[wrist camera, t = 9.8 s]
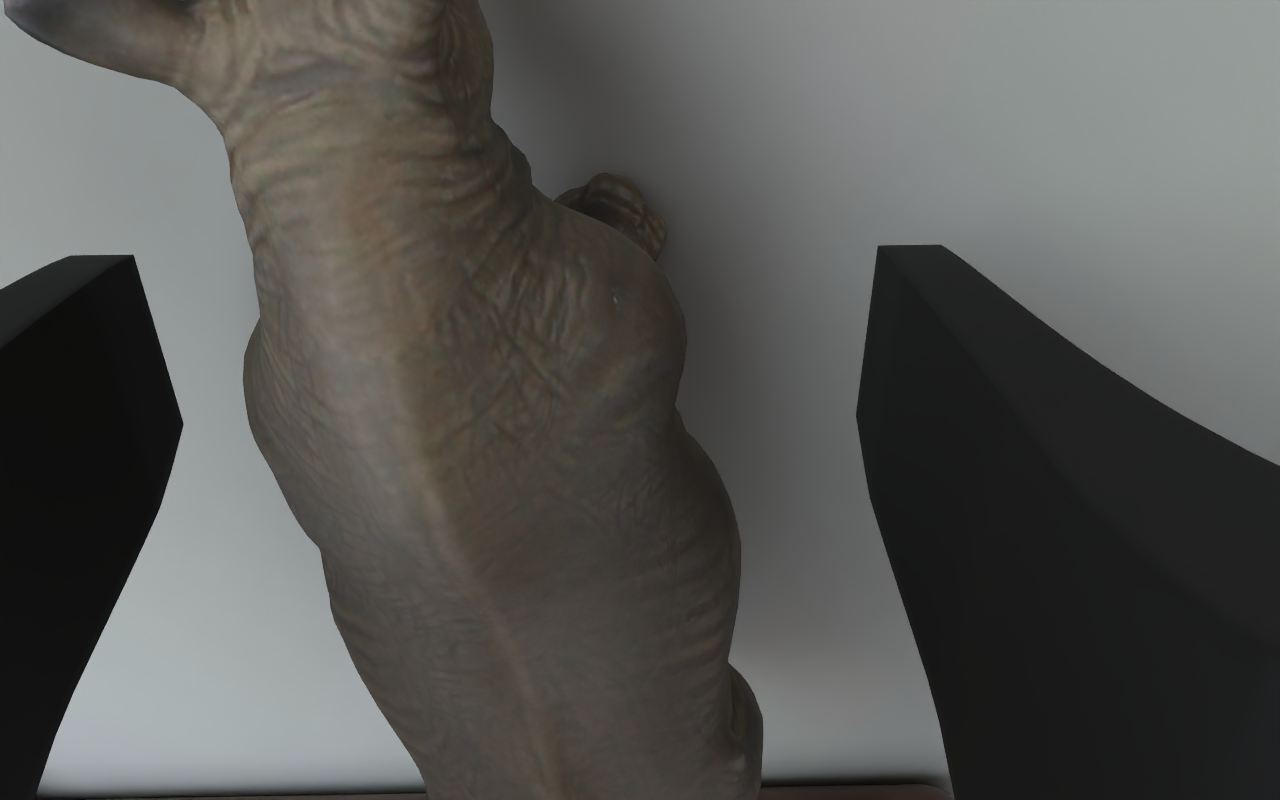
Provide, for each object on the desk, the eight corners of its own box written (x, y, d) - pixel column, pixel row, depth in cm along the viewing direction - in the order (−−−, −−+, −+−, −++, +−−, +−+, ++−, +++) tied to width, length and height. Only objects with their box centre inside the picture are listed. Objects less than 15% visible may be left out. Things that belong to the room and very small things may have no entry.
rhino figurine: (517, -573, 9) (413, -694, 5) (771, 605, 17) (832, 1017, 12) (43, -438, 10) (-511, -416, 5) (503, 649, 18) (462, 1064, 13)
